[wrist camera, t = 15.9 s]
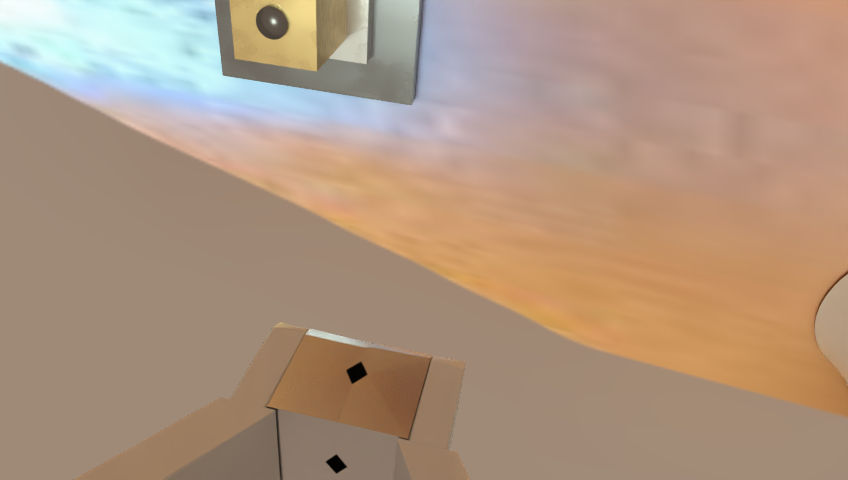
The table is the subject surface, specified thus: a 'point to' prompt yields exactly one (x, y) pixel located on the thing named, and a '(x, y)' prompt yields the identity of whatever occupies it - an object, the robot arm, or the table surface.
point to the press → (347, 54)
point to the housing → (288, 31)
